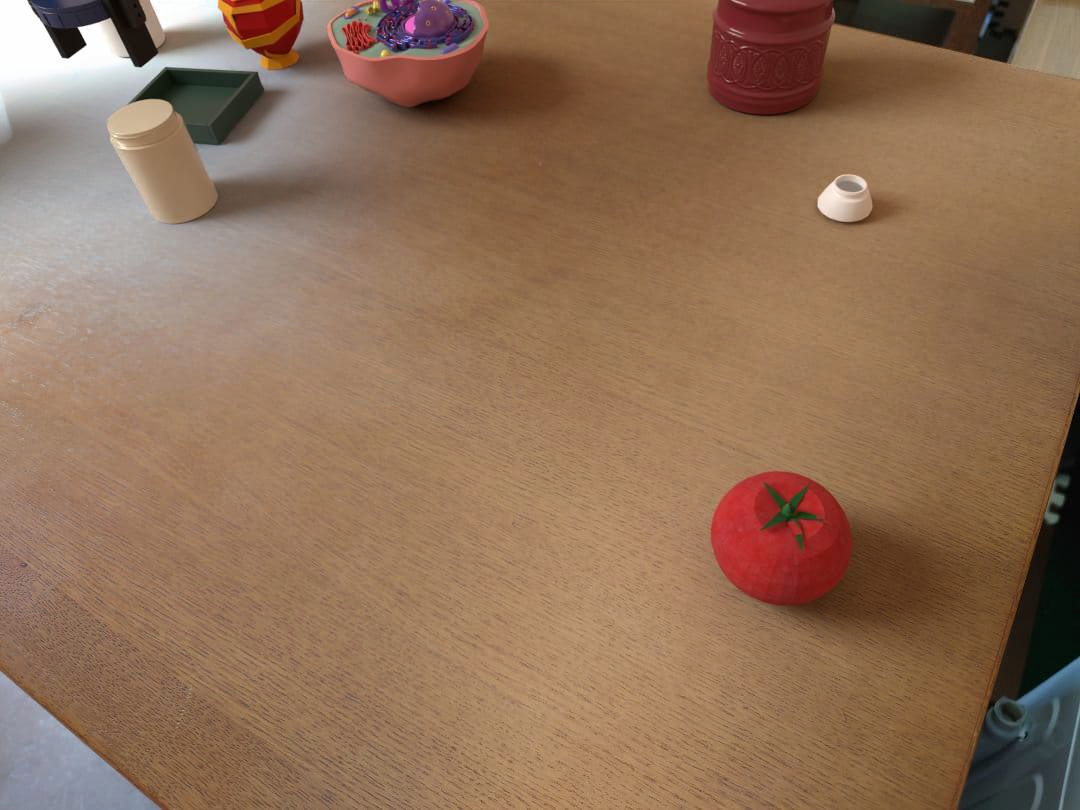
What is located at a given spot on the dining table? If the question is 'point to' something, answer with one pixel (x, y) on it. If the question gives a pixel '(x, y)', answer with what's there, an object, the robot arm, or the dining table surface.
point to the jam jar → (162, 160)
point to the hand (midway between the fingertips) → (110, 55)
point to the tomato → (781, 538)
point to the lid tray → (205, 98)
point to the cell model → (410, 47)
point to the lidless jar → (846, 199)
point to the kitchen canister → (768, 53)
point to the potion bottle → (265, 28)
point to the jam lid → (70, 12)
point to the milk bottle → (114, 38)
